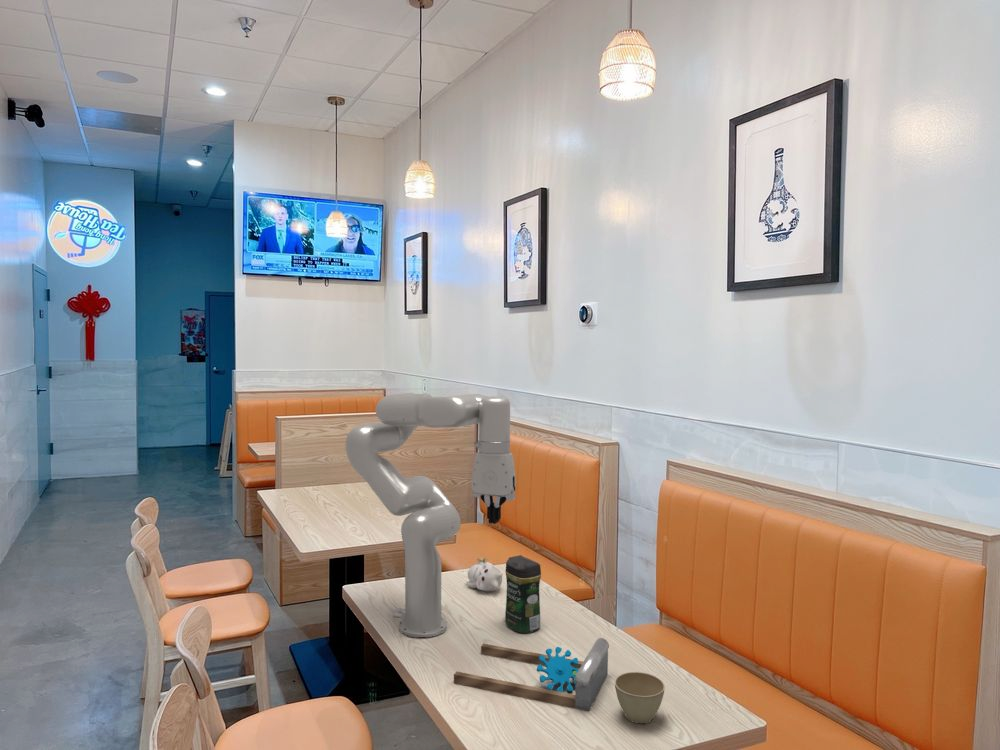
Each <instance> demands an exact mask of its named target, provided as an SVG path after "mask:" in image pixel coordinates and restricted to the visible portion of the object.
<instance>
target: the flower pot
mask: <svg viewBox="0 0 1000 750" xmlns="http://www.w3.org/2000/svg"><path fill="white" fill-rule="evenodd" d="M614 687H615V688H614V690H615V693H616V697H617V700H618V703H619V705H620V708H621V710H622V712H623V714H624V715H625V717H626V719H627V720H628V721H630V720H631V721H630V722H632V721H633V722H632V723H634V722H637V723H636V724H638V723H645V724H647V723H646V722H648V723H650V722H651V721H652V720H653V718H654V717H655V716H656V714H657V713H658V710H659V709H660V707H661V704H662V701H663V700H664V699H663V698H664V694H665V688H666V686H665V683H664V682H663V680H662V679H660V678H659V677H657V676H656V675H654V674H651V673H649V672H648V673H647V672H643V671H642V672H641V671H628V672H623V673H621V674H619V675H617V677H615V679H614ZM649 721H650V722H649Z"/></svg>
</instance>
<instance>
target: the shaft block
mask: <svg viewBox="0 0 1000 750" xmlns="http://www.w3.org/2000/svg"><path fill="white" fill-rule="evenodd" d="M609 647H610V644H609V641H607V639H605V638H603V637H599V638H597V639H596V641H595V642H594V643H593V645H592V647H591V649H590V650H589V652H588V654H587V656H586V657H585V659H584V661H583V664H582V665H581V667H580V669H579V670H578V672H577V674H576V675H575V683H576V685H575V690H574V693H575V694H574V695H575V708H574V709H577V710H578V709H579V710H582V711H587V712H590V710H591V708H592V706H593V705H594V703H595V701H596V699H597V697H598V694H599V692H600V690H601V688H602V687H603V685H604V683H605V681H606V679H607V676H608V671H609V669H608V667H609Z"/></svg>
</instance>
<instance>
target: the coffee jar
mask: <svg viewBox="0 0 1000 750" xmlns="http://www.w3.org/2000/svg"><path fill="white" fill-rule="evenodd" d="M505 563H506V565H505V576H506V577H505V578H506V595H505V596H506V601H505V613H504V614H505V616H504V617H505V619H504V623H505V624H506V626H508V627H509V628H510V629H512V630H513V631H515V632H517V633H520V634H521V633H522V634H524V633H529V634H530V633H534V632H536V631H537V630H539V629H540V628H541V604H540V585H541V584H540V583H541V582H540V581H541V579H542V569H541V564H540V563H539V562H537V561H535V560H532V559H530V558H528V557H525V556H523V555H522V554H520V555H513V556H510V557H508V559H507V561H506V562H505Z"/></svg>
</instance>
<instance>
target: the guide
mask: <svg viewBox="0 0 1000 750" xmlns="http://www.w3.org/2000/svg"><path fill="white" fill-rule="evenodd" d="M480 654H481V655H484V656H489V657H494V658H499V659H500V658H501V659H505V660H510V661H517V662H522V663H526V664H532V665H537V666H538V665H539V664H540V665H542V667H546V666H545V664H544V663H543V662H541V661H539V657H540V656H541V655H544V656H545V660H546V661H547V662H549V657H548V655H547V654H543V653H537V652H533V651H527V650H521V649H516V648H510V647H504V646H499V645H494V644H488V643H482V644H481V646H480ZM551 657H555V655H551ZM565 659H566V660H573V659H571V658H567V657H565ZM583 662H584V661H581V660H578V664H577V665H574V664H573V663H570V665H571V666H572V667H574V668H580V667H581V665H582V664H583ZM453 683H454V684H457V685H461V686H467V687H471V688H477V689H481V690H486V691H491V692H494V693H499V694H506V695H509V696H516V697H520V698H524V699H528V700H529V699H530V700H532V701H533V700H535V701H539V702H544V703H548V704H552V705H558V706H564V707H568V708H573V709H576V708H575V694H572V693H569V692H568V693H567V692H564V691H563V692H558V691H556V690H553V689H552V690H548V689H547V688H541V687H536V686H532V685H527V684H523V683H522V684H521V683H516V682H511V681H506V680H502V679H498V678H492V677H487V676H481V675H477V674H471V673H468V672H467V673H466V672H462V671H456V672H455V673H453Z"/></svg>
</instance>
